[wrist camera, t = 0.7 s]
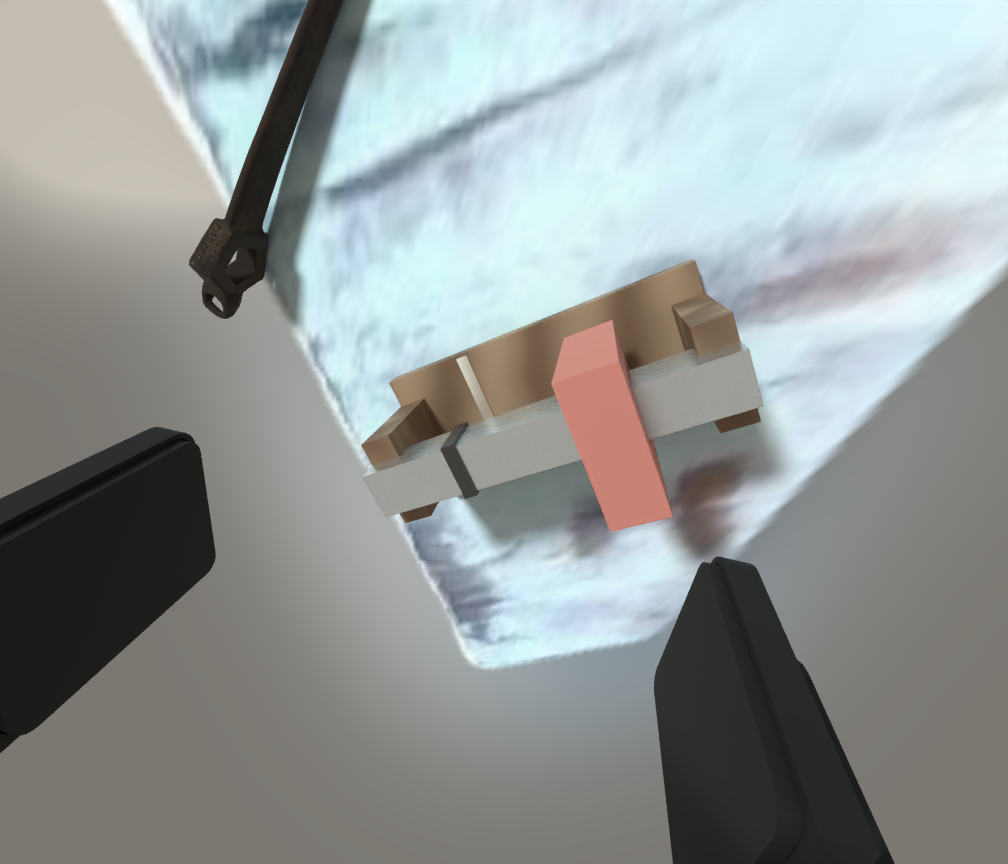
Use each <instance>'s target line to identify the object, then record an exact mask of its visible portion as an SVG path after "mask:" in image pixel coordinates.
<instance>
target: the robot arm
mask: <svg viewBox="0 0 1008 864" xmlns="http://www.w3.org/2000/svg"><path fill="white" fill-rule="evenodd" d="M214 561H215V547H214V539H213V533H212V526H211V519H210V513H209V505H208V499H207V493H206V485H205V478H204V471H203V465H202V458H201V451H200V448H199V447H198V445H197V444H195V441H194V439H193V438H192V437H191V436H190V435H189V434H186V433H183V432H178V431H174V430H170V429H165V428H161V427H154V428H151V429H148V430H146V431H144V432H141V433H139V434H137V435H135V436H133V437H131V438H129V439H126V440H124V441H122V442H120V443H118V444H116V445H114V446H112V447H110V448H107V449H105V450H103V451H101V452H99V453H97V454H95V455H92V456H90V457H89V458H86V459H84V460H82V461H80V462H77V463H75V464H73V465H71V466H69V467H67V468H65V469H63V470H61V471H59V472H56V473H54V474H52V475H50V476H48V477H46V478H43V479H41V480H39V481H37V482H35V483H33V484H31V485H28V486H26V487H24V488H22V489H20V490H18V491H16V492H14V493H11V494H9V495H7V496H5V497H3V498H1V499H0V753H1V752H2V751H3V750H4V749H6V748H7V747H8V746H9V745H10V744H11V743H12V742H13V741H14V740H15V739H17V738H18V737H19V736H20V735H24V734H27V733H29V732H31V731H33V730H34V729H35V728H37V727H38V726H39V725H40V724H42V723H43V722H44V721H45V720H46V719H47V718H48V717H49V716H50V715H51V714H53V713H54V712H55V711H56V710H57V709H58V708H59V707H60V706H61V705H62V704H64V703H65V702H66V701H67V700H68V699H69V698H70V697H71V696H72V695H74V694H75V693H76V692H77V691H78V690H79V689H80V688H81V687H82V686H83V685H85V684H86V683H87V682H88V681H89V680H90V679H91V678H92V677H93V676H95V675H96V674H97V673H98V672H99V671H100V670H101V669H102V668H103V667H105V666H106V665H107V664H108V663H109V662H110V661H111V660H112V659H113V658H114V657H116V656H117V655H118V654H119V653H120V652H121V651H122V650H123V649H124V648H125V647H127V646H128V645H129V644H130V643H131V642H132V641H133V640H134V639H135V638H137V637H138V636H139V635H140V634H141V633H142V632H143V631H144V630H145V629H146V628H147V627H149V626H150V625H151V624H152V623H153V622H154V621H155V620H156V619H157V618H159V616H161V615H162V614H163V613H164V612H165V611H166V610H167V609H169V608H170V607H171V606H172V605H173V604H174V603H175V602H176V601H177V600H179V599H180V598H181V597H182V596H183V595H184V594H185V593H186V592H187V591H188V590H190V589H191V588H192V587H193V586H194V585H195V584H196V583H197V582H198V581H200V579H202V578H203V577H204V576H205V575H206V574H207V573H208V572H209V571H210V569H211V568H212V566H213V564H214ZM654 694H655V704H656V711H657V712H656V713H657V722H658V730H659V740H660V749H661V758H662V767H663V776H664V785H665V794H666V803H667V812H668V822H669V830H670V840H671V849H672V857H673V864H894V862H893V859H892V857H891V855H890V853H889V851H888V848H887V846H886V844H885V842H884V839H883V837H882V835H881V833H880V830H879V828H878V826H877V824H876V822H875V820H874V818H873V815H872V813H871V811H870V809H869V806H868V804H867V802H866V800H865V797H864V795H863V793H862V791H861V788H860V786H859V784H858V782H857V780H856V778H855V775H854V773H853V771H852V769H851V766H850V764H849V762H848V760H847V758H846V755H845V753H844V751H843V749H842V746H841V744H840V742H839V740H838V738H837V735H836V733H835V731H834V729H833V727H832V724H831V722H830V720H829V718H828V715H827V714H826V711H825V709H824V707H823V704H822V702H821V700H820V698H819V696H818V693H817V691H816V689H815V687H814V684H813V682H812V680H811V678H810V676H809V674H808V672H807V670H806V669H805V667H804V665H803V664H801V663H800V662H799V661H798V660H797V659H796V657H795V654H794V652H793V650H792V648H791V645H790V643H789V641H788V639H787V636H786V634H785V632H784V629H783V627H782V625H781V623H780V620H779V618H778V616H777V613H776V611H775V609H774V607H773V604H772V602H771V600H770V598H769V595H768V593H767V591H766V588H765V586H764V584H763V582H762V579H761V577H760V575H759V573H758V570H757V569H756V567H755V566H754V565H752V564H749V563H745V562H740V561H736V560H732V559H727V558H723V557H715V558H714V559H713V561H712V562H711V564H710V563H706V562H703V563H702V564H701V565H700V567H699V568H698V571H697V573H696V576H695V578H694V580H693V583H692V585H691V588H690V590H689V592H688V595H687V597H686V600H685V602H684V604H683V607H682V609H681V612H680V614H679V616H678V619H677V621H676V624H675V626H674V628H673V631H672V633H671V636H670V638H669V640H668V643H667V645H666V648H665V650H664V653H663V655H662V657H661V660H660V662H659V665H658V667H657V670H656V674H655V680H654Z"/></svg>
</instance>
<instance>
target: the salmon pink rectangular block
mask: <svg viewBox="0 0 1008 864" xmlns="http://www.w3.org/2000/svg"><path fill="white" fill-rule="evenodd" d="M627 371H629V367H628V364H627V361H626V358H625V355H624V352H623V349H622V347H621V344H620V341H619V338H618V335H617V332H616V329H615V326H614V323H613V320H610V321H608V322H605V323H603V324H600V325H597V326H595V327H592V328H589V329H587V330H584V331H582V332H579V333H576V334H574V335H571V336H568V337H566V338H564V340H563V344H562V347H561V351H560V354H559V358H558V362H557V365H556V369H555V372H554V376H553V380H552V383H551V385H552V387H553V390H554V392H555V395H556V397H557V400H558V402H559V405H560V407H561V410H562V412H563V415H564V417H565V420H566V422H567V425H568V427H569V430H570V432H571V435H572V437H573V440H574V442H575V445H576V447H577V450H578V452H579V454H580V457H581V459H582V462H583V464H584V467H585V469H586V472H587V474H588V477H589V479H590V482H591V484H592V487H593V489H594V492H595V494H596V497H597V499H598V502H599V504H600V507H601V509H602V512H603V514H604V517H605V519H606V522H607V524H608V527H609V529H610V532H612V531H616V530H620V529H624V528H629V527H633V526H637V525H641V524H645V523H649V522H653V521H658V520H662V519H666V518H670V517H673V515H672V511H671V507H670V503H669V499H668V495H667V491H666V488H665V484H664V480H663V476H662V472H661V468H660V464H659V460H658V456H657V453H656V449H655V445H654V441H653V439H650V440H649V438H648V435H647V432H646V429H645V426H644V423H643V420H642V417H641V414H640V412H639V409H638V406H637V403H636V400H635V397H634V394H633V391H632V388H631V386H630V383H629V378H628V373H627Z"/></svg>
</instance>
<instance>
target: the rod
mask: <svg viewBox="0 0 1008 864" xmlns="http://www.w3.org/2000/svg"><path fill="white" fill-rule="evenodd" d="M627 373H628V378H629V383H630V386H631V388H632V391H633V394H634V397H635V400H636V403H637V406H638V409H639V412H640V414H641V417H642V420H643V423H644V426H645V429H646V432H647V435H648V438H649V440H650V439H654V438H657V437H660V436H664V435H667V434H671V433H674V432H677V431H681V430H684V429H688V428H691V427H694V426H698V425H701V424H705V423H708V422H711V421H715V420H718V419H722V418H725V417H728V416H732V415H735V414H739V413H742V412H745V411H749V410H752V409H756V408H759V407H762V406H763V402H762V398H761V394H760V390H759V386H758V382H757V379H756V375H755V371H754V367H753V363H752V359H751V355H750V351H749V348H747V347H746V346H745V345H744V344H743V343H742V342H737V343H734V344H731V345H728V346H725V347H722V348H719V349H716V350H713V351H710V352H707V353H704V354H701V355H699V356H698V355H697V353H696V352H695V351H694V349H690V350H687V351H684V352H681V353H678V354H675V355H672V356H669V357H666V358H663V359H661V360H658V361H655V362H652V363H649V364H646V365H643V366H640V367H637V368H634V369H631V370H629V371H627ZM579 460H582V459H581V457H580V454H579V452H578V450H577V447H576V445H575V442H574V440H573V437H572V435H571V432H570V430H569V427H568V425H567V422H566V420H565V417H564V415H563V412H562V410H561V407H560V405H559V402H558V400H557V397H556V396H553V397H550V398H547V399H544V400H541V401H538V402H535V403H532V404H530V405H527V406H524V407H521V408H518V409H515V410H512V411H509V412H506V413H503V414H500V415H498V416H495V417H492V418H489V419H486V420H483V421H480V422H477V423H474V424H471V425H468V423H467V422H465V423H462V424H459V425H456V426H455V428H454V429H453V431H451V432H448V433H445V434H442V435H439V436H436V437H433V438H431V439H428V440H425V441H422V442H419V443H416V444H413V445H410V446H408V447H407V448H406V449H405V450H404V451H403V453H402V454H401V455H400V456H399V457H397V458H394V459H391V460H388V461H385V462H382V463H379V464H376V465H373V466H372V467H371V468H370V469H369V470H368V471H367V472H366V473H365V475H364V476H363V477H362V478H363V479H364V481H365V483H366V484H367V486H368V488H369V490H370V491H371V493H372V495H373V497H374V498H375V500H376V502H377V504H378V505H379V507H380V509H381V510H382V512H383V514H384V515H385V517H389V516H392V515H395V514H399V513H402V512H406V511H409V510H412V509H416V508H419V507H423V506H426V505H429V504H433V503H436V502H440V501H443V500H446V499H450V498H453V497H457V496H460V495H463V496H464V498H465V499H466V498H469V497H473V496H476V495H477V494H478V492H479V490H480V489H484V488H487V487H491V486H494V485H497V484H501V483H504V482H508V481H511V480H514V479H518V478H521V477H525V476H528V475H531V474H535V473H538V472H542V471H545V470H548V469H552V468H555V467H559V466H562V465H565V464H569V463H572V462H576V461H579Z"/></svg>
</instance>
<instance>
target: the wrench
mask: <svg viewBox="0 0 1008 864" xmlns="http://www.w3.org/2000/svg"><path fill="white" fill-rule="evenodd" d="M342 2H343V0H308V2H307V5H306V7H305V10H304V12H303V15H302V17H301V20H300V22H299V25H298V27H297V30H296V32H295V35H294V37H293V40H292V42H291V45H290V47H289V50H288V53H287V55H286V58H285V60H284V63H283V65H282V68H281V70H280V73H279V75H278V78H277V81H276V83H275V86H274V88H273V91H272V93H271V96H270V98H269V101H268V104H267V106H266V109H265V111H264V114H263V116H262V119H261V121H260V124H259V126H258V129H257V131H256V134H255V136H254V139H253V141H252V144H251V146H250V149H249V151H248V154H247V157H246V159H245V162H244V165H243V167H242V170H241V173H240V176H239V178H238V181H237V184H236V187H235V190H234V193H233V196H232V199H231V201H230V204H229V207H228V211H227V214H226V217H225V218H224V219H218V218H216V219H214V220H213V222H212V223H211V225H210V226H209V229H208V230H207V231H206V233H205V234H204V236H203V238H202V239H201V241H200V243H199V244H198V246H197V248H196V250H195V252H194V253H193V255H192V257H191V258H190V260H189V265H190V267H192V269H193V270H194V271H196V272H197V274H198V275H199V276H200V277H201V278H202V279H203V280H204V282H203V286H202V297H203V303H204V305H205V307H206V308H208V309H209V310H210V311H211V312H212V313H214V314H215V315H216V316H218V317H220V318H224V319H227V318H229V317H231V316H233V315H234V314H235V312H236V311H237V309H238V308H239V306H240V303H241V299H242V294H243V292H244V291H246V290H247V289H248V288H250V287H251V286H253V285H254V284H255V283H257V282H258V281H260V280H262V279H263V277H264V274H265V260H266V250H267V240H268V236H267V234H265V233H264V231H263V228H262V226H263V221H264V218H265V215H266V211H267V208H268V205H269V202H270V199H271V196H272V193H273V190H274V187H275V184H276V181H277V178H278V175H279V172H280V169H281V166H282V164H283V161H284V158H285V155H286V152H287V149H288V147H289V144H290V141H291V138H292V136H293V133H294V130H295V127H296V124H297V122H298V119H299V116H300V113H301V110H302V108H303V105H304V102H305V100H306V97H307V94H308V92H309V89H310V86H311V83H312V81H313V78H314V75H315V72H316V70H317V67H318V64H319V62H320V59H321V57H322V54H323V51H324V49H325V46H326V44H327V41H328V38H329V36H330V33H331V31H332V28H333V25H334V23H335V20H336V18H337V15H338V12H339V10H340V7H341V4H342ZM236 251H237V256H236V260H235V261H234V262H232V263H231V264H229V263H230V261H231V259H232V257H233V255H234V254H235V252H236ZM228 264H229V265H228ZM214 296H215V297H216V298H217V299H218V300H219V301H220V302H221V304H222V306H223V312H222V311H221V310H220V309H219V308H218V307H217V306H216V305H214V303H213V302H212V299H213V297H214Z"/></svg>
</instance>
